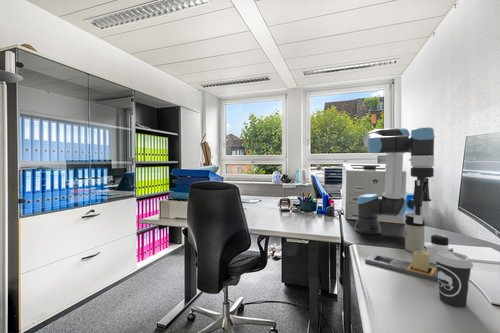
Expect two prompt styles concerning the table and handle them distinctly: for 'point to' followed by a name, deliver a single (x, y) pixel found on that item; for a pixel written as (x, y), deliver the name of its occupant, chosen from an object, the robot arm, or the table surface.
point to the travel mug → (414, 234)
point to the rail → (401, 266)
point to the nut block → (421, 261)
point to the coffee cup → (453, 277)
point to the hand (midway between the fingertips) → (421, 220)
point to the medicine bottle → (438, 246)
